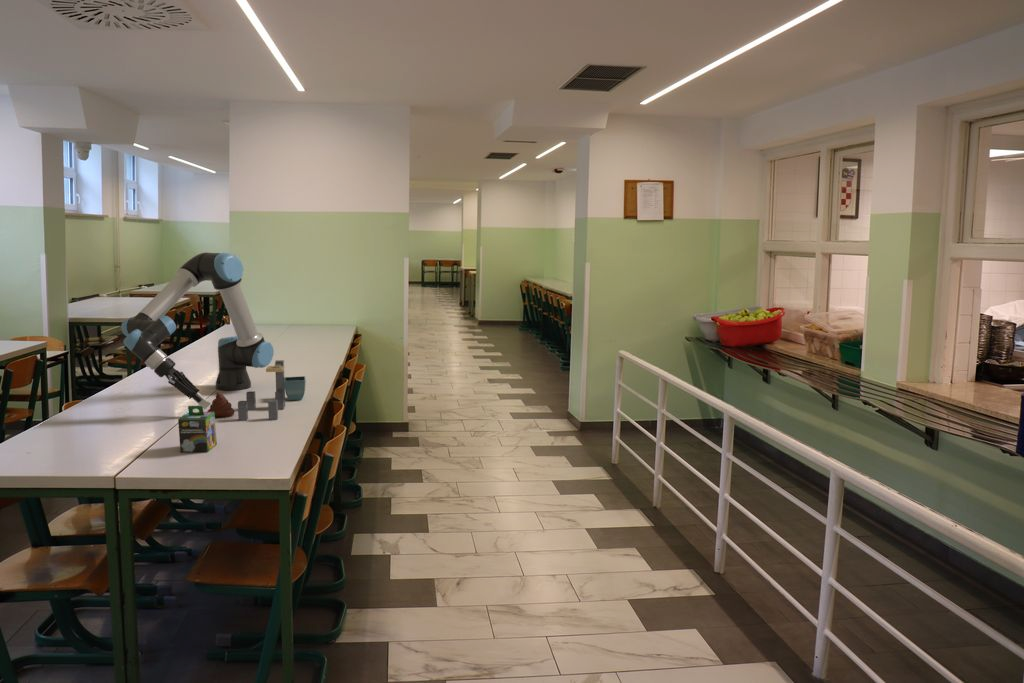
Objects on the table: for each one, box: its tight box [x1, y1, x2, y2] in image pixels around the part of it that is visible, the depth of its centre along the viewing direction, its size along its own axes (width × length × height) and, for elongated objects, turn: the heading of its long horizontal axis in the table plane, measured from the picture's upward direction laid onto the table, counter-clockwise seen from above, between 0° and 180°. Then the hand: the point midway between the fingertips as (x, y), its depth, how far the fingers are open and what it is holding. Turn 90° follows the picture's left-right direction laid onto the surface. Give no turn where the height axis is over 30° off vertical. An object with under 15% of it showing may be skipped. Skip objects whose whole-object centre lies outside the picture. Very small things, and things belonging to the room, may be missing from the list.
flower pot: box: [284, 375, 307, 401], centre depth 339 cm, size 9×9×9 cm
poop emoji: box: [206, 391, 235, 419], centre depth 310 cm, size 10×8×9 cm
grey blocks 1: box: [237, 391, 257, 422], centre depth 312 cm, size 3×20×7 cm, turn 8°
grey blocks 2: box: [267, 390, 285, 421], centre depth 313 cm, size 3×20×7 cm, turn 8°
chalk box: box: [177, 405, 218, 453], centre depth 264 cm, size 9×9×15 cm
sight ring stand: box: [265, 359, 286, 409], centre depth 317 cm, size 6×16×19 cm, turn 8°
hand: (207, 406), depth 309 cm, fingers closed
